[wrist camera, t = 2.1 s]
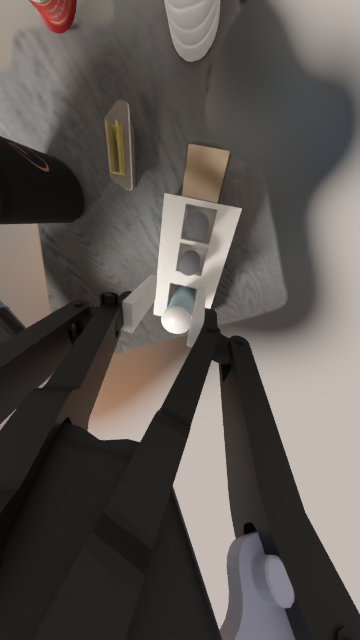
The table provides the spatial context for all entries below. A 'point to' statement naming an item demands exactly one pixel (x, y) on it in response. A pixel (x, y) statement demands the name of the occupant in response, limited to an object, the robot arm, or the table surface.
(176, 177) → the table surface
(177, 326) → the cartridge
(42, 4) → the liquor
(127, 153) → the platform
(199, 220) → the button
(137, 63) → the table surface
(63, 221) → the coffee jar
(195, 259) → the button
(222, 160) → the coaster
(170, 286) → the housing
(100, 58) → the table surface
